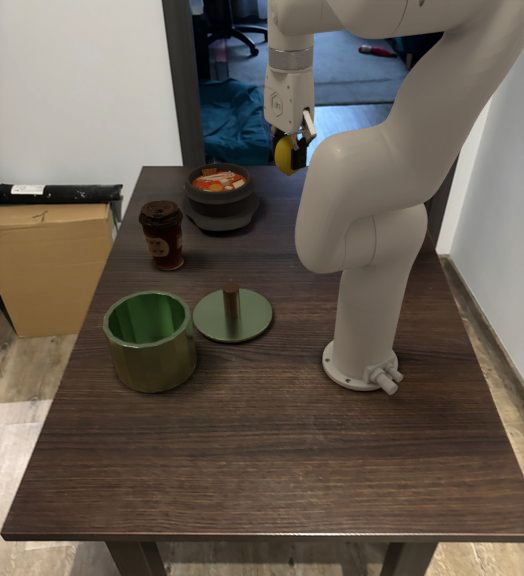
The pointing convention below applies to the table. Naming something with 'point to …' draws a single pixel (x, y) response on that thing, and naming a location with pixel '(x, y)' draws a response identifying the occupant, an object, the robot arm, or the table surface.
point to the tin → (151, 340)
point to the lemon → (284, 155)
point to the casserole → (220, 196)
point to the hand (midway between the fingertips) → (289, 161)
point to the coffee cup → (163, 233)
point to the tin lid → (232, 314)
